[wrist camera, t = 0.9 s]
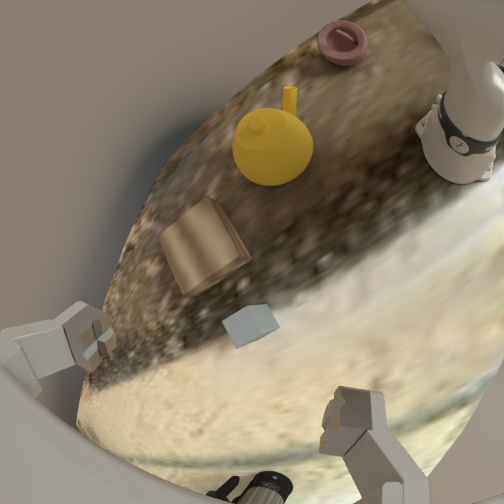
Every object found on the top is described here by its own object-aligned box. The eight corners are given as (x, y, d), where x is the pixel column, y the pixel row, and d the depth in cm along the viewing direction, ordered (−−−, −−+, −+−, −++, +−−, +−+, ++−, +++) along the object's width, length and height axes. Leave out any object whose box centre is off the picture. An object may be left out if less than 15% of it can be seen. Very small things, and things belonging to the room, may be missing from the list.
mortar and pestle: (315, 69, 56) (304, 36, 45) (332, 42, 55) (323, 10, 45) (362, 81, 51) (357, 46, 40) (376, 52, 50) (372, 19, 40)
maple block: (221, 204, 59) (207, 195, 54) (252, 259, 55) (240, 254, 49) (174, 241, 63) (157, 236, 57) (199, 295, 58) (182, 295, 53)
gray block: (267, 304, 52) (246, 306, 43) (280, 327, 51) (262, 334, 41) (245, 317, 53) (221, 321, 44) (258, 339, 52) (236, 348, 43)
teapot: (275, 104, 58) (254, 66, 45) (337, 124, 52) (328, 82, 39) (231, 176, 59) (198, 147, 47) (293, 205, 53) (271, 177, 40)
